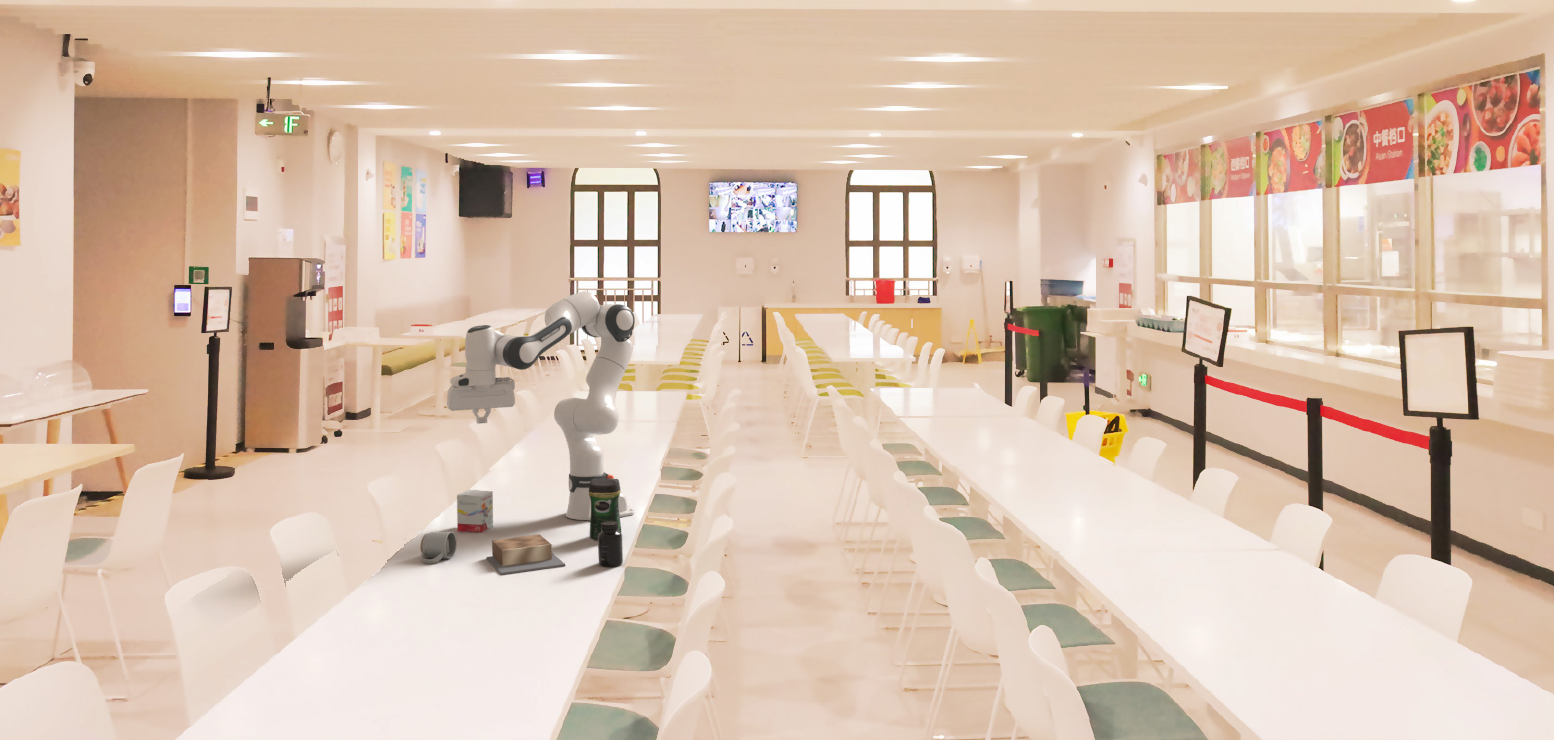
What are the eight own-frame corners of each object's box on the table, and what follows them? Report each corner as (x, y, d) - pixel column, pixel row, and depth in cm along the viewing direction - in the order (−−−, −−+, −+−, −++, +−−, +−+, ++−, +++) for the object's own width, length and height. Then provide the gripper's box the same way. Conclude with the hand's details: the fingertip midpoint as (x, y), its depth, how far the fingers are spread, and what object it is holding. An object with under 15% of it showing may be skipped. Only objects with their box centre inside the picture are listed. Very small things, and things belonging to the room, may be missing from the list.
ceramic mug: (430, 553, 317) (429, 527, 316) (457, 554, 316) (456, 528, 315) (414, 564, 307) (413, 538, 306) (442, 565, 306) (441, 539, 305)
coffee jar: (623, 534, 338) (622, 476, 336) (618, 541, 331) (617, 481, 328) (592, 534, 339) (591, 475, 337) (587, 541, 331) (586, 481, 329)
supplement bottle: (610, 559, 312) (609, 518, 311) (627, 563, 308) (627, 522, 307) (593, 565, 306) (592, 523, 305) (611, 569, 303) (610, 527, 301)
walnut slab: (539, 534, 319) (551, 544, 309) (539, 548, 320) (551, 559, 310) (491, 540, 313) (502, 550, 302) (492, 555, 313) (502, 566, 303)
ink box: (481, 533, 339) (480, 496, 338) (456, 531, 341) (455, 494, 340) (494, 526, 348) (493, 490, 346) (469, 524, 349) (468, 488, 348)
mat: (547, 550, 320) (547, 549, 320) (565, 566, 305) (565, 564, 305) (486, 559, 312) (486, 557, 311) (501, 575, 297) (501, 572, 297)
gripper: (511, 375, 340) (512, 419, 341) (445, 379, 330) (446, 424, 332) (517, 377, 334) (518, 422, 336) (449, 381, 325) (450, 427, 326)
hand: (481, 423), depth 334 cm, fingers closed
